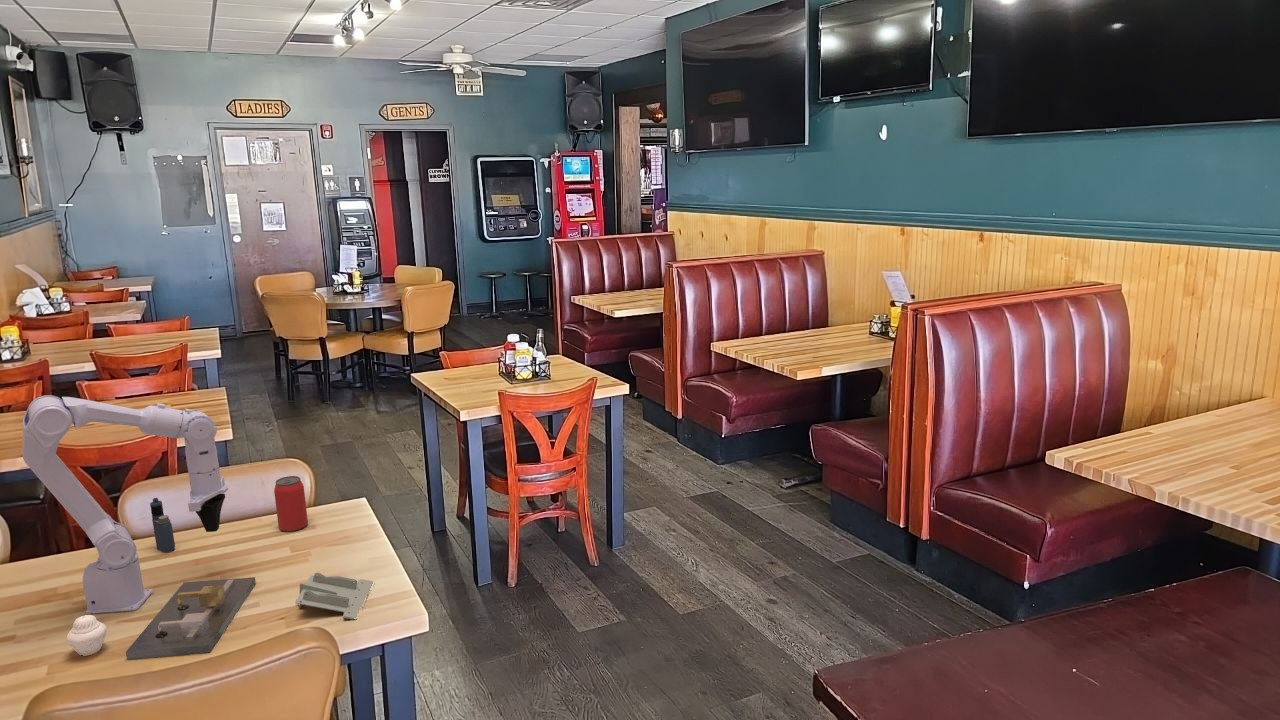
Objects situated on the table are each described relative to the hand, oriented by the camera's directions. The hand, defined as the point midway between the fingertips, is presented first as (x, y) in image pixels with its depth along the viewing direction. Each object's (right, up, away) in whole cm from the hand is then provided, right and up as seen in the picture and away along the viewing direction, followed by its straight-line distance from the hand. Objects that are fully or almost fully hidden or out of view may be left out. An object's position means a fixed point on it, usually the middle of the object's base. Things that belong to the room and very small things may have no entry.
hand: (212, 530), depth 179 cm
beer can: (+6, -5, +27) cm, 28 cm away
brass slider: (+5, -12, -14) cm, 19 cm away
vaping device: (-19, -8, +16) cm, 26 cm away
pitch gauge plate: (+4, -14, -15) cm, 21 cm away
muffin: (-9, -17, -25) cm, 32 cm away
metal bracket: (+29, -13, -10) cm, 33 cm away
